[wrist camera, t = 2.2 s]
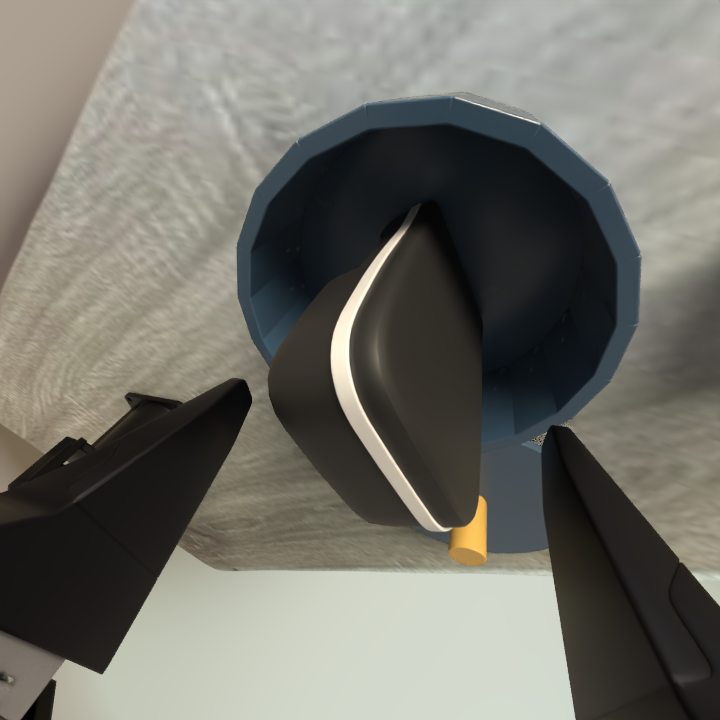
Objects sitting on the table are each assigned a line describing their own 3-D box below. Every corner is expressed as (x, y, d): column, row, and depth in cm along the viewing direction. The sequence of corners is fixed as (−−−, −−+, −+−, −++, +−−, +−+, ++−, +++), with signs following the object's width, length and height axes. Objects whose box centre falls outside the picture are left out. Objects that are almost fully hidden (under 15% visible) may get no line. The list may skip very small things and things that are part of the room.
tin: (316, 369, 23) (280, 428, 19) (263, 111, 15) (179, 120, 11) (547, 399, 19) (562, 481, 15) (663, 72, 11) (766, 65, 7)
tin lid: (379, 514, 33) (364, 572, 29) (369, 402, 24) (346, 465, 20) (553, 556, 29) (562, 630, 25) (622, 440, 20) (654, 529, 16)
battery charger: (358, 227, 16) (212, 389, 8) (435, 189, 14) (355, 348, 6) (417, 344, 19) (359, 553, 11) (486, 325, 17) (483, 561, 9)
